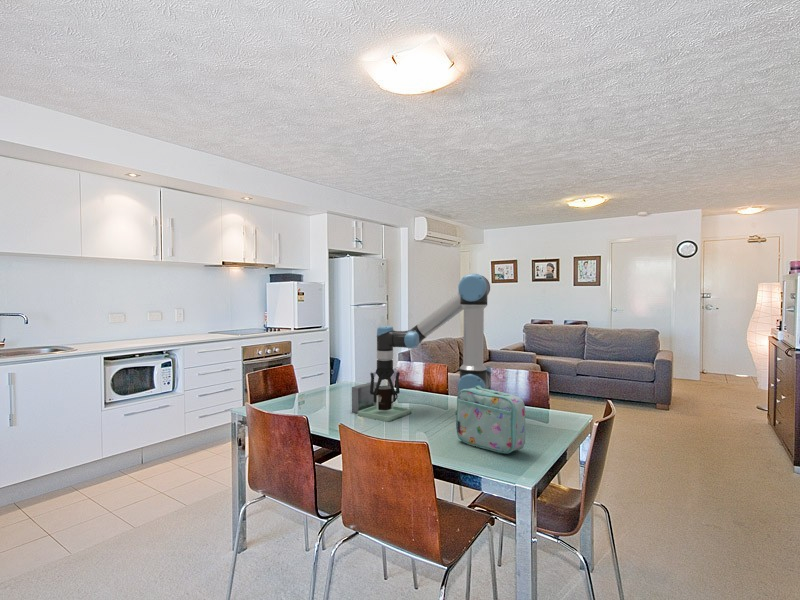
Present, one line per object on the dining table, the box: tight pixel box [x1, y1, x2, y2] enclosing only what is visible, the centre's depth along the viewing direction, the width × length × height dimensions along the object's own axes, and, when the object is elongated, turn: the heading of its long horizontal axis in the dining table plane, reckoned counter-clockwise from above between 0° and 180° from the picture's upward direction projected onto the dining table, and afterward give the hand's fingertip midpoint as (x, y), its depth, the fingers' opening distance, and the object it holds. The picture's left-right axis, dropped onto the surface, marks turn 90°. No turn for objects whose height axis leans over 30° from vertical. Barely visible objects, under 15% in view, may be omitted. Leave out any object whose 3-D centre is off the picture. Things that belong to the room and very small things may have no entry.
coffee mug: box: [375, 385, 398, 410], centre depth 206 cm, size 12×9×10 cm
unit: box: [351, 381, 378, 414], centre depth 215 cm, size 4×16×12 cm, turn 145°
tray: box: [357, 405, 412, 423], centre depth 206 cm, size 18×18×2 cm
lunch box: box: [454, 386, 526, 454], centre depth 162 cm, size 27×10×21 cm, turn 45°
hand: (384, 408), depth 206 cm, fingers closed on coffee mug, 6 cm apart
